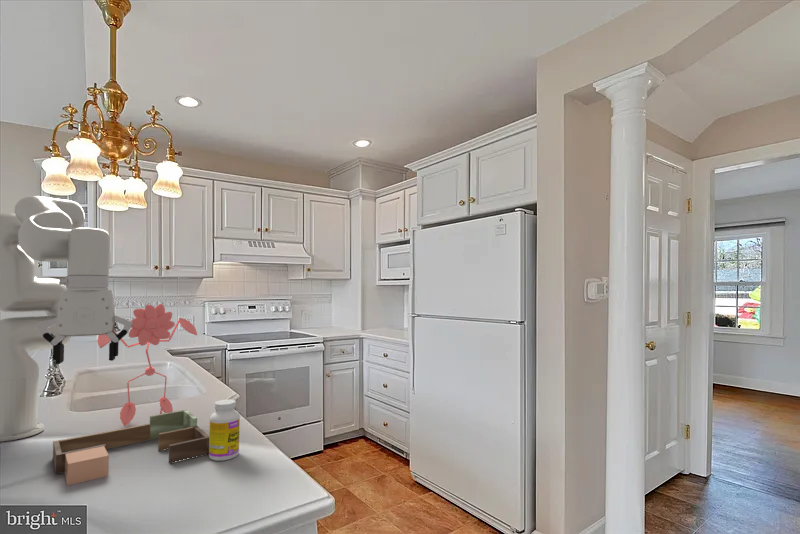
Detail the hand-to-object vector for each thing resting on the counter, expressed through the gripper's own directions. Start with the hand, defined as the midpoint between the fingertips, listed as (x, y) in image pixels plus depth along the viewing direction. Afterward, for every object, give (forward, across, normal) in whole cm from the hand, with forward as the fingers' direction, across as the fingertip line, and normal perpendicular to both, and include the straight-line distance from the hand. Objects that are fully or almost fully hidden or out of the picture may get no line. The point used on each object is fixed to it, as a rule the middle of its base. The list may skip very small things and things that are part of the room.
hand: (86, 361), depth 97 cm
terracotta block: (+24, +1, -2) cm, 24 cm away
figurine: (+24, +9, +32) cm, 41 cm away
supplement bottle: (+24, +28, -3) cm, 38 cm away
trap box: (+24, +8, +6) cm, 26 cm away
